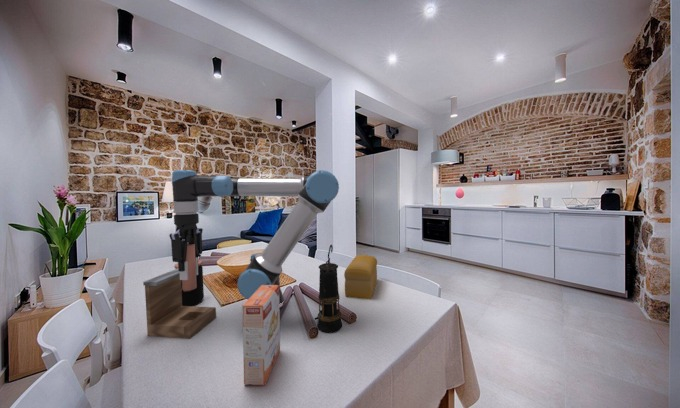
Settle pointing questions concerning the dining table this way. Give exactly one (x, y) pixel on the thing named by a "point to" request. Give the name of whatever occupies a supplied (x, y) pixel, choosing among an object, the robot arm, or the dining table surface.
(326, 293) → the lantern
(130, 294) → the dining table surface
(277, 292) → the cracker box
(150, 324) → the station
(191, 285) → the peg
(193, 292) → the coffee jar
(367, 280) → the bread
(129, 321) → the dining table surface
